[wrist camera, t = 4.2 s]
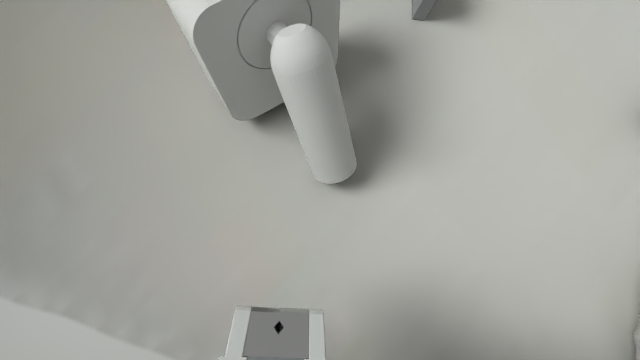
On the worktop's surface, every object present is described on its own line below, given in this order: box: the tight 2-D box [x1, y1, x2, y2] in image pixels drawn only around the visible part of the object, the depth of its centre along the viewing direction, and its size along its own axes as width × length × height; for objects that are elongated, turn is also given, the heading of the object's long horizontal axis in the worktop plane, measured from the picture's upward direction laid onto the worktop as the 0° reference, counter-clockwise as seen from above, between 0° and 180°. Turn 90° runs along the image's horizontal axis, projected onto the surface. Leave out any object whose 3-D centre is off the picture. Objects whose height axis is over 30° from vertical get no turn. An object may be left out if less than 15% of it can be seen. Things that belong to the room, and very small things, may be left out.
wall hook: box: [166, 0, 357, 184], centre depth 17 cm, size 8×10×10 cm
